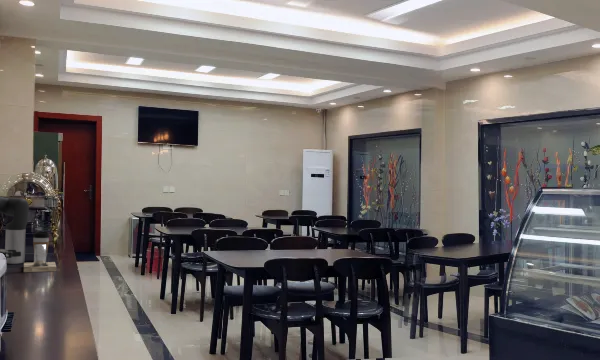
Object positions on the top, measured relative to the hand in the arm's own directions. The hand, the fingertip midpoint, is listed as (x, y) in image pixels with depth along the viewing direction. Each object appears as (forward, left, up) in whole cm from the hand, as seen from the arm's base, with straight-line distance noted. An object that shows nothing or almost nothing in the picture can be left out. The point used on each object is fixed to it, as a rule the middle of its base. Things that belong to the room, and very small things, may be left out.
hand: (18, 253), depth 270 cm
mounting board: (-8, +7, -8) cm, 14 cm away
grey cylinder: (-6, +8, -8) cm, 13 cm away
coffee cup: (-38, -6, -9) cm, 40 cm away
